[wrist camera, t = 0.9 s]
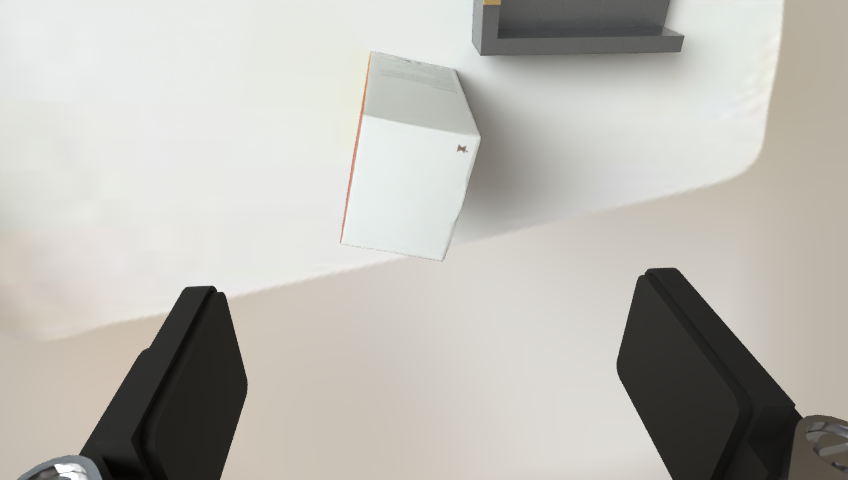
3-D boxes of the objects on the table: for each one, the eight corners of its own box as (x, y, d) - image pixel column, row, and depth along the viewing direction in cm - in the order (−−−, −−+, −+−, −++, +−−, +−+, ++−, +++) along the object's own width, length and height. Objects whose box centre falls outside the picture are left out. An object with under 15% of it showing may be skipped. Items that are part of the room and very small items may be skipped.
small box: (369, 48, 35) (361, 110, 25) (457, 68, 37) (485, 135, 26) (352, 154, 40) (338, 247, 29) (431, 169, 41) (446, 264, 30)
